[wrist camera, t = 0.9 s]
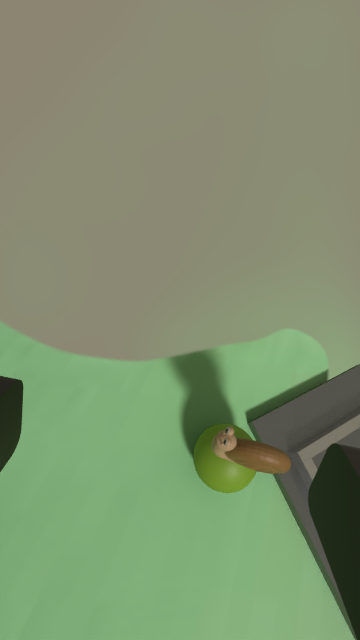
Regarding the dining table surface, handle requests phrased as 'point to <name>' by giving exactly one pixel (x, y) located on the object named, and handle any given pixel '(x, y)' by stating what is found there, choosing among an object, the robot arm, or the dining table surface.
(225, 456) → the snail figurine
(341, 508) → the robot arm
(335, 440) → the tray
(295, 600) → the dining table surface
